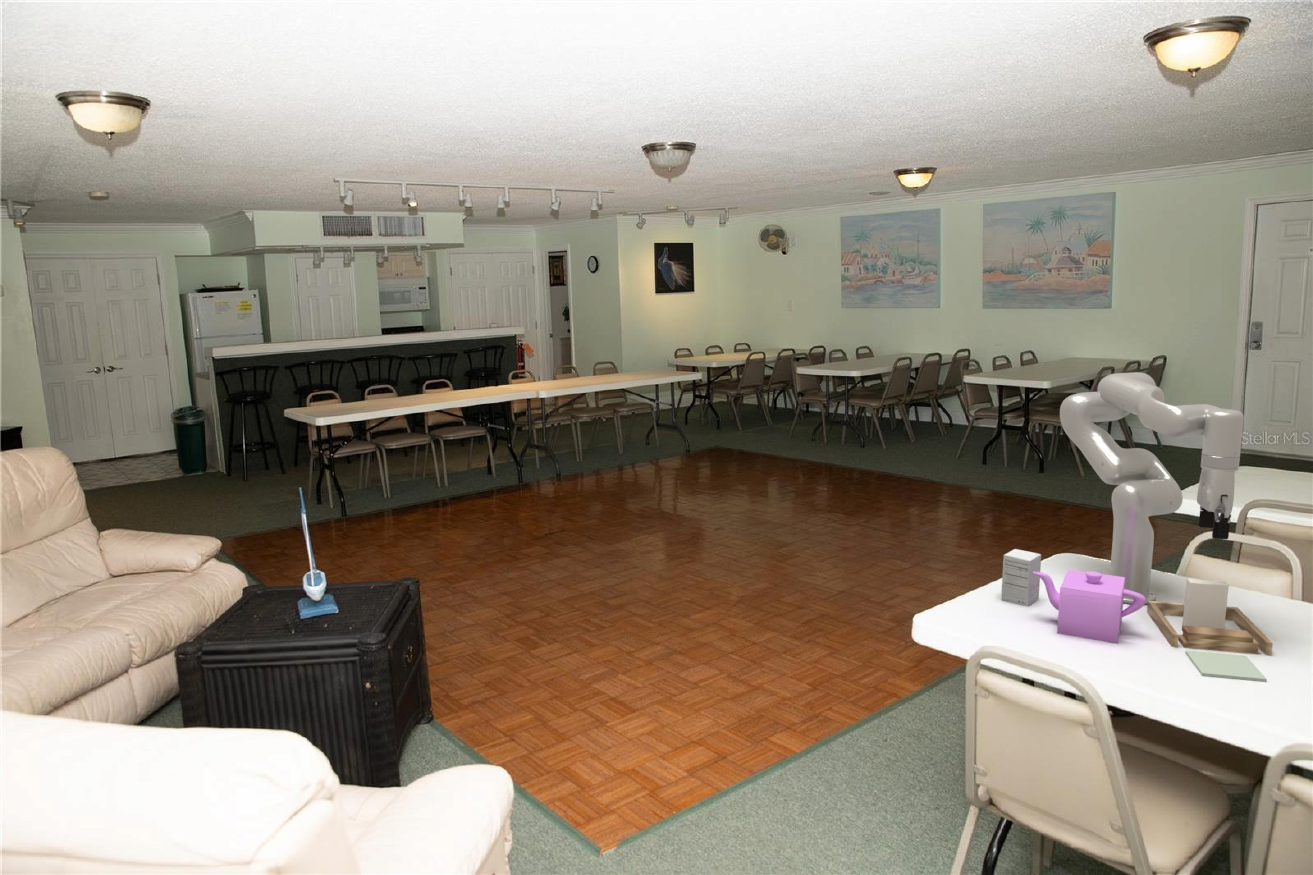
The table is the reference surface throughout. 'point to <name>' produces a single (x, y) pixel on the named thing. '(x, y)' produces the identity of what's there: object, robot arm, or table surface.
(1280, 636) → the table surface
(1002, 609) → the table surface
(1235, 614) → the frame
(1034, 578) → the supplement box
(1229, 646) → the offcut stack
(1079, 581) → the teapot
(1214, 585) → the cream rectangular block
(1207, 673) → the mat
